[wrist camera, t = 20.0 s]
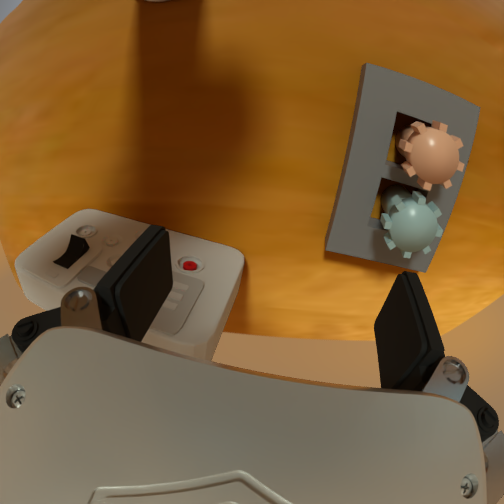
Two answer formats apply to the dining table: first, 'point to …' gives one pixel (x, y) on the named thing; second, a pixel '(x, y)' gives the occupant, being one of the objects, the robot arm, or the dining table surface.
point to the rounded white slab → (111, 249)
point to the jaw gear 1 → (429, 153)
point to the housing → (376, 166)
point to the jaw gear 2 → (409, 220)
